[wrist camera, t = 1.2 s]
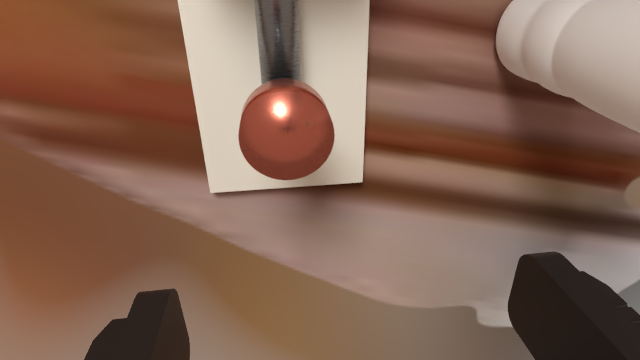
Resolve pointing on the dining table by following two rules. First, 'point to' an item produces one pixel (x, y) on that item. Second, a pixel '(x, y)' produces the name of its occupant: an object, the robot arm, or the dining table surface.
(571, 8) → the water bottle
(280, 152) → the ball knob lever
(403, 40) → the dining table surface
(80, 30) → the dining table surface
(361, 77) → the cream l-shaped stand
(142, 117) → the dining table surface
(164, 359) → the robot arm
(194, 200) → the dining table surface
